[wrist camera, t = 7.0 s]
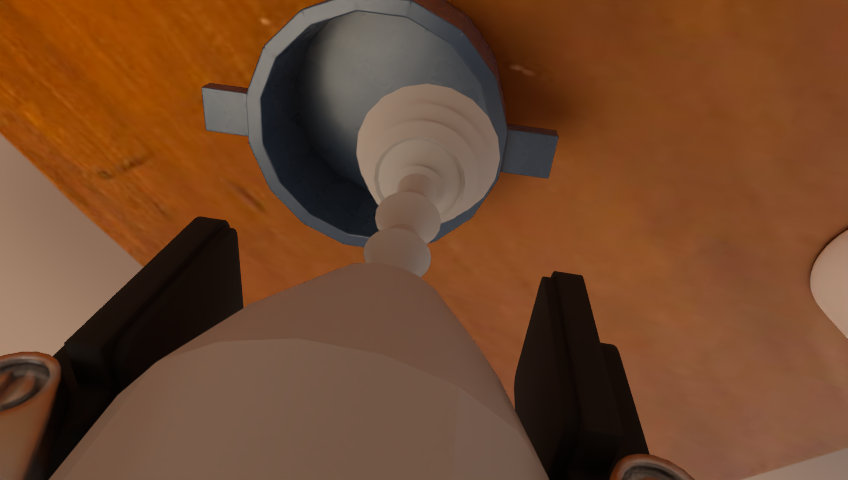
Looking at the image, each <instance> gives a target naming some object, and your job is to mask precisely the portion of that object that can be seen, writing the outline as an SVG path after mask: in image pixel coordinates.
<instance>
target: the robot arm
mask: <svg viewBox="0 0 848 480" xmlns="http://www.w3.org/2000/svg"><path fill="white" fill-rule="evenodd" d="M241 309H243V296H242V285H241V273H240V261H239V249H238V237H237V232H236V230H235V229H233V228H230V226H229V224H228V222H227V221H226V220H219V219H213V218H207V217H197V218H195V219H194V220H193V221H192V222H191V223H190V224H189V225H188V226H187V227H186V228H184V229H183V230H182V231H181V232H180V233H179V234H178V235H177V236H176V237H175V238H174V239H173V240H172V241H171V242H170V243H169V244H168V245H167V246H166V247H165V248H163V249H162V250H161V251H160V252H159V253H158V254H157V255H156V256H155V257H154V258H153V259H152V260H151V261H150V262H149V263H148V264H147V265H146V266H145V267H144V268H142V269H141V271H139V272H138V273H137V274H136V275H135V276H134V277H133V278H132V279H131V280H130V281H129V282H128V283H127V284H126V285H125V286H124V287H123V288H121V290H119V291H118V292H117V293H116V294H115V295H114V296H113V297H112V298H111V299H110V300H109V301H108V302H107V303H106V304H105V305H104V306H103V307H102V308H100V309H99V310H98V311H97V312H96V313H95V314H94V315H93V316H92V317H91V318H90V319H89V320H88V321H87V322H86V323H85V324H84V325H83V326H82V327H81V328H79V329H78V330H77V331H76V332H75V333H74V334H73V335H72V336H71V337H70V338H69V339H68V340H67V341H66V342H65V343H64V344H65V345H64V346H63V347H62V348H61V349H60V350H59V351H58V352H57V353H56V354H55V355H54V356H53V357H52V356H51V355H49V354H44V353H40V352H19V353H13V354H8V355H3V356H0V480H49V479H50V478H51V476H52V475H53V474H54V473H55V471H56V470H57V469H58V468H59V467H60V465H61V464H62V463H63V462H64V460H65V459H66V458H67V457H68V455H69V454H70V453H71V452H72V451H73V449H74V448H75V447H76V446H77V444H78V443H79V442H80V441H81V440H82V438H83V437H84V436H85V435H86V433H87V432H88V431H89V430H90V429H91V427H92V426H93V425H94V424H95V422H96V421H97V420H98V419H99V417H100V416H101V415H102V414H103V413H104V411H105V410H106V409H107V408H108V406H109V405H110V404H111V403H112V402H113V400H114V399H115V398H116V397H117V395H119V394H120V393H121V392H122V391H123V390H124V389H126V388H127V387H128V386H129V385H130V384H131V383H133V382H134V381H135V380H136V379H137V378H138V377H140V376H141V375H142V374H143V373H144V372H145V371H147V370H148V369H149V368H150V367H151V366H152V365H154V364H155V363H156V362H157V361H159V360H161V359H162V358H164V357H165V356H167V355H169V354H170V353H172V352H174V351H175V350H177V349H178V348H180V347H182V346H183V345H185V344H186V343H188V342H190V341H191V340H193V339H195V338H196V337H198V336H199V335H201V334H203V333H204V332H206V331H207V330H209V329H211V328H212V327H214V326H216V325H217V324H219V323H220V322H222V321H224V320H225V319H227V318H228V317H230V316H232V315H233V314H235V313H237V312H238V311H240V310H241ZM514 397H515V411H516V413H517V415H518V417H519V420H520V422H521V424H522V426H523V428H524V430H525V432H526V434H527V436H528V438H529V440H530V442H531V444H532V446H533V448H534V450H535V452H536V454H537V456H538V458H539V460H540V462H541V464H542V466H543V468H544V470H545V472H546V474H547V476H548V478H549V480H695V479H694V478H692V477H691V476H690V475H689V474H688V473H687V472H686V471H684V470H683V469H682V468H680V467H678V466H677V465H675V464H673V463H672V462H670V461H668V460H665V459H663V458H660V457H657V456H654V455H650V454H649V451H648V447H647V444H646V441H645V437H644V434H643V431H642V427H641V424H640V421H639V417H638V414H637V411H636V407H635V404H634V401H633V397H632V394H631V391H630V387H629V384H628V380H627V377H626V374H625V370H624V367H623V364H622V360H621V357H620V354H619V351H618V349H617V347H616V346H614V345H612V344H606V343H600V340H599V336H598V332H597V328H596V325H595V321H594V317H593V313H592V309H591V305H590V302H589V298H588V294H587V290H586V286H585V282H584V279H583V276H581V275H576V274H570V273H563V272H557V271H554V272H553V274H552V276H551V278H550V277H542V279H541V282H540V286H539V289H538V293H537V297H536V300H535V304H534V308H533V311H532V315H531V319H530V322H529V326H528V330H527V333H526V337H525V341H524V344H523V348H522V352H521V355H520V359H519V363H518V366H517V370H516V375H515V382H514Z"/></svg>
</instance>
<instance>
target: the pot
mask: <svg viewBox="0 0 848 480" xmlns="http://www.w3.org/2000/svg"><path fill="white" fill-rule="evenodd" d="M421 84H432V85H437V86H443V87H448V88H452V89H454V90H456V91H457V92H459V93H461V94H463V95H465V96H467V97H468V98H470V99H472V100H473V101H474V102H475V103H476V104H477V105H478V106H479V107H480V108H481V109H482V110H483V111H484V113H485V114H486V115H487V116H488V117H489V119H490V121H491V123H492V126H493V128H494V130H495V132H496V134H497V136H498V144H499V154H500V161H499V165H498V169H497V173H496V177H495V180H494V182H493V183H492V185H491V186H490V188H489V190H488V191H487V193H486V194H485V196H484V197H483V198H482V199H481V200H479V201H478V202H477V203H476V204H474V205H473V206H472V207H471V208H470V209H468V210H466V211H464V212H463V213H461V214H460V215H457V216H456V217H455V218H454V219H451V220H449V221H446V222H443V223H441V225H440V230H439V232H438V233H437V235H436V237H435V238H434V239H433V240H431V241H430V242H429V243H432V242H435V241H437V240H438V239H440V238H441V237H443V236H444V235H446V234H447V233H449V232H451V231H452V230H454V229H455V228H457V227H458V226H460V225H461V224H463V223H465V222H466V221H468V220H469V219H471V218H472V217H473V215H474V214H475V213H476V211H477V210H478V208H479V207H480V205H481V204H482V202H483V201H484V199H485V198H486V197H487V195H488V194H489V192H490V191H491V189H492V188H493V186H494V185H495V183H496V182H497V181H498V178H499V174H500V172H505V173H512V174H519V175H527V176H534V177H541V178H549V174H550V170H551V166H552V162H553V158H554V154H555V150H556V146H557V142H558V138H559V137H558V134H557V131H555V130H547V129H540V128H533V127H526V126H518V125H511V124H507V118H506V109H505V100H504V95H503V90H502V85H501V81H500V76H499V72H498V67H497V62H496V58H495V55H494V53H493V51H492V50H491V48H490V47H489V45H488V44H487V43H486V41H485V39H484V38H483V36H482V34H481V33H480V32H479V31H478V29H477V28H476V27H475V25H474V24H473V23H472V21H471V20H470V18H469V17H468V16H466V14H465V13H463V12H462V11H460V10H458V9H457V8H455V7H454V6H452V5H451V4H450V3H448V2H447V1H445V0H325V1H322V2H320V3H317V4H314V5H312V6H309V7H306V8H304V9H302V10H300V11H299V12H298V13H297V14H296V15H295V16H294V17H293V18H292V19H291V20H290V21H289V22H288V23H287V24H286V25H285V26H284V27H283V28H282V29H281V30H280V31H278V32H277V33H276V34H275V35H274V36H273V37H272V38H271V39H270V40H269V41H268V42H267V43H266V44H265V45H264V47H263V49H262V52H261V54H260V57H259V60H258V63H257V65H256V68H255V71H254V74H253V76H252V79H251V82H250V85H249V87H248V88H243V87H235V86H228V85H221V84H214V83H209V84H207V85H205V86H203V87H202V97H203V107H204V116H205V126H206V130H207V131H214V132H221V133H228V134H235V135H242V136H248V137H249V144H250V147H251V149H252V151H253V153H254V156H255V158H256V160H257V162H258V164H259V166H260V169H261V171H262V173H263V175H264V177H265V180H266V182H267V184H268V186H269V188H270V190H271V191H272V192H273V193H274V194H275V195H276V196H277V197H278V198H279V199H280V200H281V201H282V202H283V203H284V204H285V205H286V206H287V207H288V208H289V209H290V210H291V211H292V212H293V213H294V214H295V216H296V217H297V218H298V219H299V220H300V221H301V222H302V223H304V224H305V225H307V226H309V227H311V228H313V229H315V230H317V231H319V232H321V233H323V234H325V235H327V236H329V237H331V238H333V239H335V240H337V241H339V242H341V243H342V244H346V245H353V246H360V247H364V246H365V244H366V242H367V241H368V239H369V238H370V237H371V236H372V235H374V234H375V233H376V232H378V231H379V229H378V228H377V224H376V220H375V216H376V209H377V208H378V206H379V205H378V204H377V203H376V201H375V199H374V198H373V196H372V194H371V193H370V191H369V189H368V186H367V184H366V183H365V180H364V178H363V176H362V175H361V171H360V167H359V163H358V159H357V154H356V151H357V141H358V132H359V130H360V128H361V126H362V123H363V121H364V119H365V117H366V115H367V113H368V112H369V111H370V110H371V109H372V108H373V107H374V106H375V105H376V104H377V103H378V101H379V100H380V99H381V98H382V97H384V96H386V95H388V94H390V93H392V92H394V91H396V90H398V89H400V88H402V87H406V86H413V85H421Z"/></svg>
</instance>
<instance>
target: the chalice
mask: <svg viewBox="0 0 848 480" xmlns="http://www.w3.org/2000/svg"><path fill="white" fill-rule="evenodd" d="M356 154H357V159H358V163H359V167H360V171H361V175H362V176H363V178H364V180H365V183H366V184H367V186H368V189H369V191H370V193H371V194H372V196H373V198H374V199H375V201H376V203H377V204H378V205H379V206H378V208H377V209H376V216H375V220H376V224H377V228H378V229H379V231H378V232H376V233H375V234H374V235H372V236H371V237H370V238H369V239H368V241H367V242H366V244H365V246H364V254H363V255H364V258H365V262H366V263H357V264H351V265H348V266H345V267H342V268H340V269H337V270H334V271H332V272H329V273H327V274H324V275H322V276H319V277H317V278H314V279H312V280H309V281H307V282H304V283H302V284H299V285H297V286H294V287H292V288H289V289H287V290H284V291H282V292H279V293H277V294H274V295H272V296H269V297H266V298H264V299H261V300H259V301H256V302H254V303H251V304H250V305H248V306H246V307H245V308H243V309H241V310H240V311H238V312H237V313H235V314H233V315H232V316H230V317H228V318H227V319H225V320H224V321H222V322H220V323H219V324H217V325H216V326H214V327H212V328H211V329H209V330H207V331H206V332H204V333H203V334H201V335H199V336H198V337H196V338H195V339H193V340H191V341H190V342H188V343H186V344H185V345H183V346H182V347H180V348H178V349H177V350H175V351H174V352H172V353H170V354H169V355H167V356H165V357H164V358H162V359H161V360H159V361H157V362H156V363H155V364H154V365H152V366H151V367H150V368H149V369H148V370H147V371H145V372H144V373H143V374H142V375H141V376H140V377H138V378H137V379H136V380H135V381H134V382H133V383H131V384H130V385H129V386H128V387H127V388H126V389H124V390H123V391H122V392H121V393H120V394H119V395H117V397H116V398H115V399H114V400H113V402H112V403H111V404H110V405H109V406H108V408H107V409H106V410H105V411H104V413H103V414H102V415H101V416H100V417H99V419H98V420H97V421H96V422H95V424H94V425H93V426H92V427H91V429H90V430H89V431H88V432H87V433H86V435H85V436H84V437H83V438H82V440H81V441H80V442H79V443H78V444H77V446H76V447H75V448H74V449H73V451H72V452H71V453H70V454H69V455H68V457H67V458H66V459H65V460H64V462H63V463H62V464H61V465H60V467H59V468H58V469H57V470H56V471H55V473H54V474H53V475H52V476H51V478H50V479H49V480H549V478H548V476H547V474H546V472H545V470H544V468H543V466H542V464H541V462H540V460H539V458H538V456H537V454H536V452H535V450H534V448H533V446H532V444H531V442H530V440H529V438H528V436H527V434H526V432H525V430H524V428H523V426H522V424H521V422H520V420H519V417H518V415H517V413H516V411H515V409H514V407H513V405H512V403H511V401H510V399H509V397H508V395H507V393H506V391H505V389H504V387H503V385H502V383H501V381H500V379H499V378H498V376H497V375H496V373H495V372H494V370H493V368H492V367H491V365H490V364H489V362H488V361H487V359H486V357H485V356H484V354H483V353H482V351H481V350H480V348H479V346H478V345H477V344H476V343H475V341H474V340H473V339H472V337H471V336H470V335H469V333H468V332H467V331H466V329H465V328H464V327H463V325H462V324H461V323H460V321H459V320H458V319H457V318H456V316H455V315H454V314H453V312H452V311H451V310H450V308H449V307H448V306H447V304H446V303H445V302H444V300H443V299H442V298H441V296H440V295H439V294H438V292H437V291H436V290H435V289H434V288H433V287H432V286H430V285H429V284H428V283H427V282H426V281H424V280H423V279H422V278H421V276H422V275H424V274H425V273H426V271H427V270H428V268H429V266H430V261H431V255H430V250H429V248H428V246H427V245H426V244H427V243H429V242H430V241H431V240H433V239H434V238H435V237H436V235H437V233H438V232H439V230H440V225H441V223H443V222H446V221H449V220H451V219H454V218H455V217H456V216H457V215H460V214H461V213H463V212H464V211H466V210H468V209H470V208H471V207H472V206H473V205H474V204H476V203H477V202H478V201H479V200H481V199H482V198H483V197H484V196H485V194H486V193H487V191H488V190H489V188H490V186H491V185H492V183H493V182H494V180H495V177H496V173H497V169H498V165H499V161H500V154H499V144H498V136H497V134H496V132H495V130H494V128H493V126H492V123H491V121H490V119H489V117H488V116H487V115H486V114H485V113H484V111H483V110H482V109H481V108H480V107H479V106H478V105H477V104H476V103H475V102H474V101H473V100H472V99H470V98H468V97H467V96H465V95H463V94H461V93H459V92H457V91H456V90H454V89H452V88H448V87H443V86H437V85H432V84H421V85H413V86H406V87H402V88H400V89H398V90H396V91H394V92H392V93H390V94H388V95H386V96H384V97H382V98H381V99H380V100H379V101H378V103H377V104H376V105H375V106H374V107H373V108H372V109H371V110H370V111H369V112H368V113H367V115H366V117H365V119H364V121H363V123H362V126H361V128H360V130H359V132H358V141H357V151H356Z"/></svg>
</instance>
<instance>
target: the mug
mask: <svg viewBox="0 0 848 480" xmlns="http://www.w3.org/2000/svg"><path fill="white" fill-rule="evenodd" d="M810 287H811V292H812V295H813V297H814V299H815V301H816V302H817V304H818V305H819V307H820V308H821V309H822V311H823V312H824V313H825V314H826V315H827V316H828V318H829V319H830V320H831V321H832V322H833V323H834V324H835V325H836V326H837V327H838V329H839V330H840V331H841V332H842V333H843V334H844V335H845V336H846V337H847V339H848V230H846V231H845V232H843V233H842V234H840V235H839V236H837V237H836V238H835V239H834V240H832V241H831V242H830V243H829V244H828V245H827V246H826V247H825V248H824V250H823V251H822V252H821V253H820V255H819V256H818V258H817V259H816V261H815V263H814V265H813V268H812V271H811V277H810Z"/></svg>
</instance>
